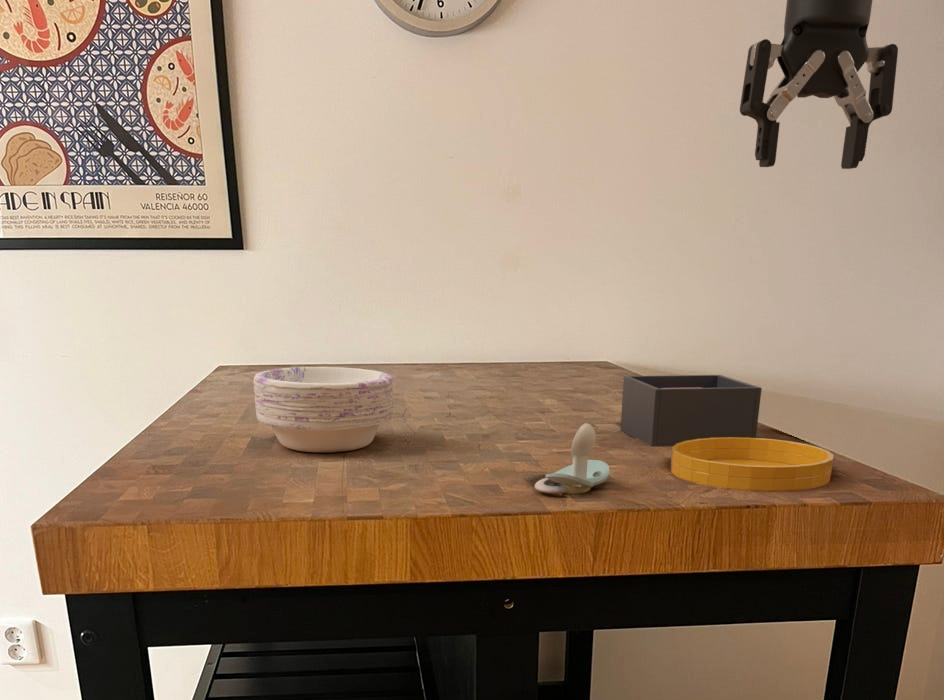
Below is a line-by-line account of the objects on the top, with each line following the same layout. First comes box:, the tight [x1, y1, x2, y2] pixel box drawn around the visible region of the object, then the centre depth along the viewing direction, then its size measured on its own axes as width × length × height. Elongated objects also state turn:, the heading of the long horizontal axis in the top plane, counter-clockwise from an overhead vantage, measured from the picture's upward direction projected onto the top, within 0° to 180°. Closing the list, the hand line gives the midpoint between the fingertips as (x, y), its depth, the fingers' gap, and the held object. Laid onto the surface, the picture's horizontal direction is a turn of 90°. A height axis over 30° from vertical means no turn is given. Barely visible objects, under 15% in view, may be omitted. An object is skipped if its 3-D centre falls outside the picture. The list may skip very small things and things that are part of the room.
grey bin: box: [620, 374, 762, 448], centre depth 112 cm, size 12×12×6 cm
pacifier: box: [534, 422, 611, 495], centre depth 87 cm, size 7×6×6 cm
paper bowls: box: [252, 366, 394, 454], centre depth 107 cm, size 15×15×8 cm
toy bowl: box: [670, 437, 835, 492], centre depth 94 cm, size 15×15×2 cm
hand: (808, 167), depth 94 cm, fingers open, 8 cm apart
